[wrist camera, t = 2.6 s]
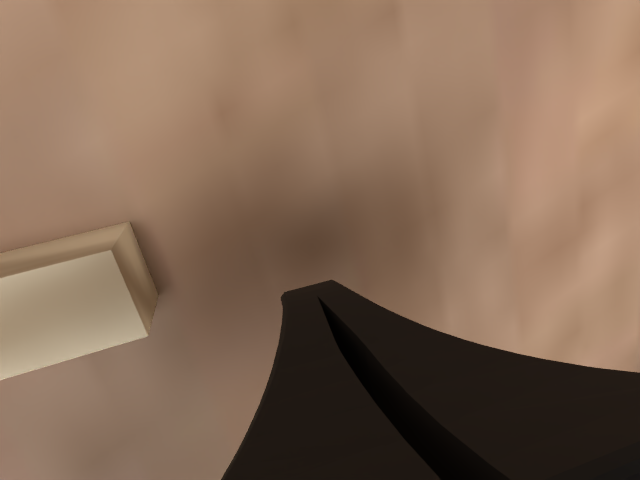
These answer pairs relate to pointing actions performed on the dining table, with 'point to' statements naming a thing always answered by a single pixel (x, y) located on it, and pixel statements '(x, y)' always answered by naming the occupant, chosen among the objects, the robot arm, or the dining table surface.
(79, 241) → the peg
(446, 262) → the dining table surface
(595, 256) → the dining table surface
